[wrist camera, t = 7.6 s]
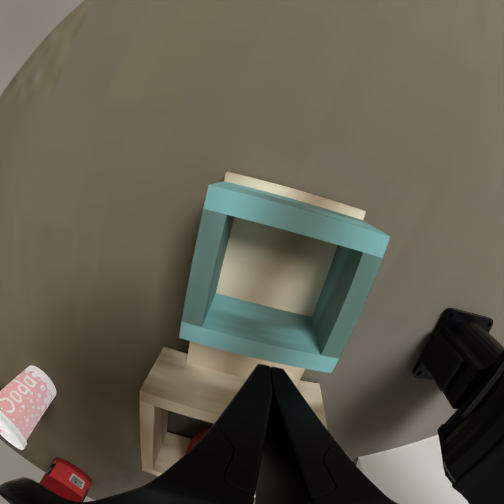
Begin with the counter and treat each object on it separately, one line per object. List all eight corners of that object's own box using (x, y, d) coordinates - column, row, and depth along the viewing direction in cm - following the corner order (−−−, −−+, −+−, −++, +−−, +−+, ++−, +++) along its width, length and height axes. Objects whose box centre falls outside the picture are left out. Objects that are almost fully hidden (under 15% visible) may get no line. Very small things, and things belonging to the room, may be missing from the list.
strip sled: (388, 219, 16) (427, 238, 11) (273, 460, 23) (272, 499, 19) (195, 164, 16) (166, 163, 11) (156, 433, 23) (142, 470, 18)
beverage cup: (66, 388, 23) (1, 475, 10) (57, 408, 25) (4, 483, 11) (26, 350, 22) (-48, 424, 9) (21, 375, 24) (-39, 441, 10)
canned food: (50, 451, 30) (25, 492, 19) (89, 472, 30) (66, 518, 19) (59, 468, 32) (38, 505, 21) (95, 487, 32) (76, 528, 22)
